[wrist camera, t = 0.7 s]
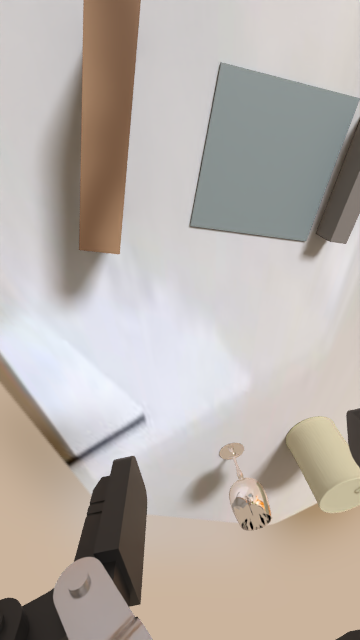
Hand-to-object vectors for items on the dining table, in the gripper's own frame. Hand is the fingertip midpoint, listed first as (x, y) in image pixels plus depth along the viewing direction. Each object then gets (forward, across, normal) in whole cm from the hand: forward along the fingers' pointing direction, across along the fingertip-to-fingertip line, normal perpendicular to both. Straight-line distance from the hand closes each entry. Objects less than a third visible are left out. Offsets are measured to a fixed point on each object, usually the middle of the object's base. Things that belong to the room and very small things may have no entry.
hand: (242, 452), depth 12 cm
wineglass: (+37, -1, +32) cm, 49 cm away
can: (+39, -16, +33) cm, 53 cm away
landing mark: (+26, -10, -11) cm, 30 cm away
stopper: (+27, -19, -8) cm, 34 cm away
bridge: (+23, +4, -17) cm, 29 cm away
